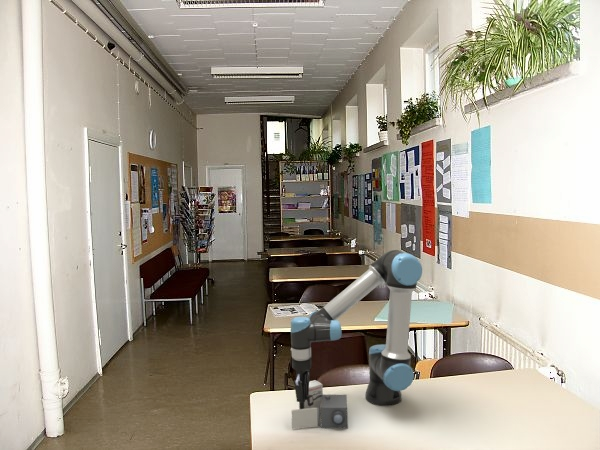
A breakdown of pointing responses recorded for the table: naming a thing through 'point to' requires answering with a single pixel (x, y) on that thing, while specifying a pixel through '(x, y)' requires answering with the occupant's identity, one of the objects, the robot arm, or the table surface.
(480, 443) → the table surface
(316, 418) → the door
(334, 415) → the housing
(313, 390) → the ink box
